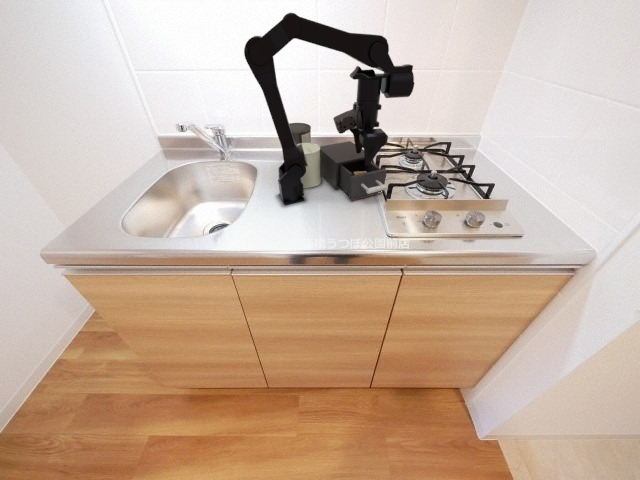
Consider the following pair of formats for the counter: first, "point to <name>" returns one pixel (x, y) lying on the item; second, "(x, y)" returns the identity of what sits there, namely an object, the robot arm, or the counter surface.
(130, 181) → the counter surface
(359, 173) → the block
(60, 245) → the counter surface
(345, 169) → the dark grey drawer
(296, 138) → the coffee can
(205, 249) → the counter surface
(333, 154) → the dark grey drawer box
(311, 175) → the can
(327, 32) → the robot arm
